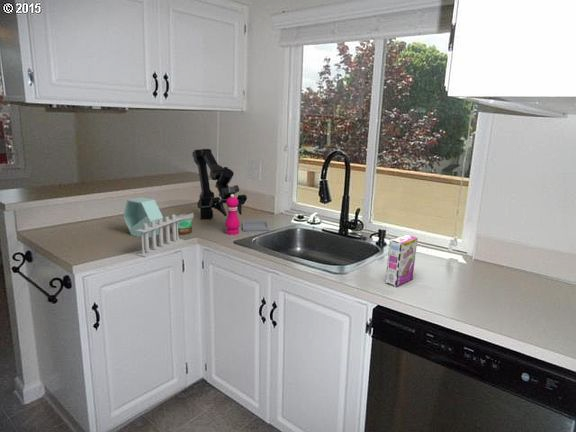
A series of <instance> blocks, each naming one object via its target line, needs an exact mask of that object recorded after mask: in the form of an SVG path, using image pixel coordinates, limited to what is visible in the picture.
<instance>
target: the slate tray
mask: <svg viewBox="0 0 576 432" xmlns="http://www.w3.org/2000/svg"><path fill="white" fill-rule="evenodd" d="M269 229H270V228H269V223H268V220H259V221H257V220H256V221H255V220H244V221H242V232H270V230H269Z"/></svg>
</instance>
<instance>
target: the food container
mask: <svg viewBox="0 0 576 432" xmlns="http://www.w3.org/2000/svg"><path fill="white" fill-rule="evenodd" d="M172 215H173V214H169V219H171V218H172V217H171V216H172ZM175 217H176V218H182V220H179V221H178V236H184V235H190V234H191V233H192V232H193V219H194V217H195V214H194V212H193V211H192V210H191V211H190V213H189V212H188V213H180V214H175ZM176 236H177V232H176Z"/></svg>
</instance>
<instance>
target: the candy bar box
mask: <svg viewBox="0 0 576 432" xmlns="http://www.w3.org/2000/svg"><path fill="white" fill-rule="evenodd" d="M418 239H419V238H418V237H415V236H412V235H409V234H405V235H402V236H399V237H395V238H392V239H390V240H389V244H388V245H389V246H388V255H387V263H386V273H385V284H387V285H390V286H392V287H394V288H396V287H400V286H401V285H404V284H406V283H408V282H410V281H411V280H413V279H414V278H413V277H414V269H415V261H416V254H417V247H418Z"/></svg>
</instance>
